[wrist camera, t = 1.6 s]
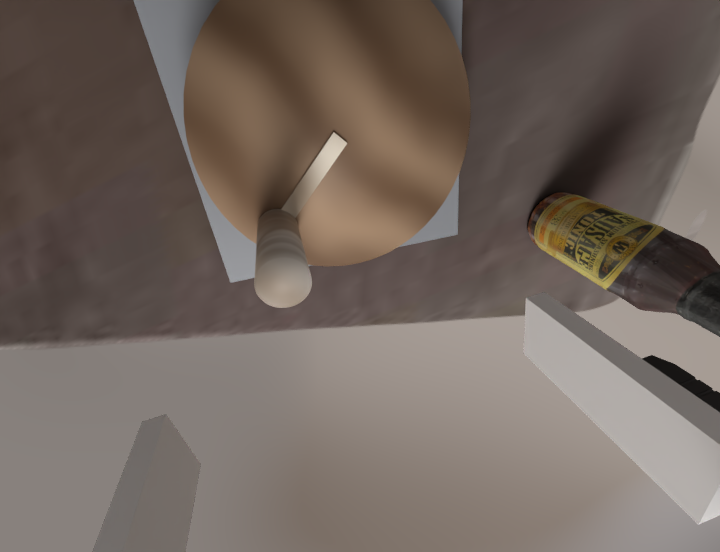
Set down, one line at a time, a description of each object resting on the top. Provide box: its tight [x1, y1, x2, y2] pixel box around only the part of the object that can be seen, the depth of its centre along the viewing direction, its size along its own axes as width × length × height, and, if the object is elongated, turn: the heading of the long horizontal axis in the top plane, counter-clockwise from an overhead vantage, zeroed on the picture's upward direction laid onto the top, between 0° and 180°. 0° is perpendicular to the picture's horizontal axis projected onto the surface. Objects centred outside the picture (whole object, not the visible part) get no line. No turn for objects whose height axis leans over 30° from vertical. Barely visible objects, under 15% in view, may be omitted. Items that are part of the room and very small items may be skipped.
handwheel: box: [183, 0, 471, 308], centre depth 22 cm, size 20×20×12 cm
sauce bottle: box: [527, 192, 720, 337], centre depth 29 cm, size 6×6×20 cm
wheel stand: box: [134, 0, 463, 283], centre depth 28 cm, size 22×22×1 cm
